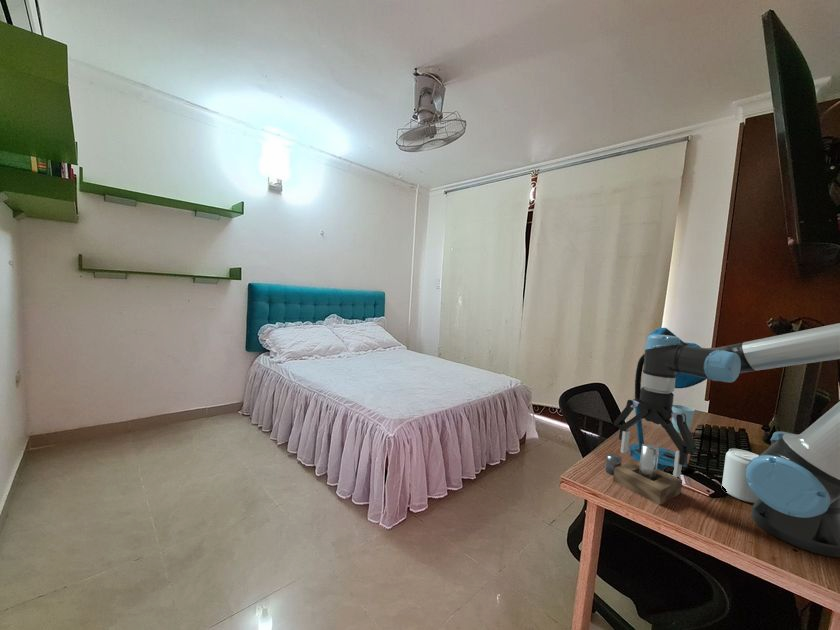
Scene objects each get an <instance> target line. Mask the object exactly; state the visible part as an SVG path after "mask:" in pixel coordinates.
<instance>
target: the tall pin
mask: <svg viewBox="0 0 840 630" xmlns="http://www.w3.org/2000/svg"><path fill="white" fill-rule="evenodd" d="M656 446H657V445H654V444H651V443H644V444H642V449H641V457H640V466H639V474H640V475H642V476H644V477H646V478H648V479H650V480H652V481H655V480H656V472H657V463H658V455H659V448H658V447H659V446H657V447H656Z"/></svg>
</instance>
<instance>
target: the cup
mask: <svg viewBox="0 0 840 630" xmlns="http://www.w3.org/2000/svg"><path fill="white" fill-rule="evenodd" d="M672 411H673V413H677V414H685V415H686V423H687V426H688V428H689V431H690V429H691V426H692V423H693V419H694V414H695V411H696V410H695V409H694V408H691V407H689V406H686V405H682V404H681V405H680V404H673V406H672ZM671 422H672V423H673V427H674V428H675V430H676V431H677V432H678V434H679V435H681V433H680V431H679V428H678V426H677V422H676V421H675V420H674V418H673V417H672V418H671Z"/></svg>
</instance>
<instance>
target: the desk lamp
mask: <svg viewBox="0 0 840 630" xmlns="http://www.w3.org/2000/svg"><path fill="white" fill-rule="evenodd" d="M652 334H658V335H669V336H675V337H678V336H677V335H676V334H675V333H673V332H672V331H671V330H669V329H668V328H667V327H660V328H657V329H655V330H654V331H651V333H650V334H649V335H652ZM649 335H648V336H649ZM648 336H647V337H648ZM680 343H681V345H685V346H691V347H700V348H702V346H700V345H698V343H694V342H684V341H683V340H682V339H681V338H680ZM644 356H645V353H643V354H642V355H641V356H640V357H639V360H638V362H637V365H636V370H635V378H634V399H635V400H636V401H637V402H640V392H641V388H642V385H641V383H642V375H643V368H644ZM706 380H707V379H706V378H702V377H697V376H692V375H688V374H683V373H678V372H676V380H675V388H674V389H686V388H691V387H693V386H696V385H698V384H700V383H701V384H702V382H704V381H706ZM634 411H635V413H634V414H635V416H636V415H637V414H639V413H640V410H639V408H638V406H637V407H636V408H634ZM642 420H643V419H642ZM642 420H640V421H639V422H637V423H635V424H636V433H637V441H638V443H633V444H631V445H630V446H629V448H628V453H629V456H631V458H632V459H634V460H639V461H640V457H641V449H642V444H645V440H644V430H643V424H642V423H643V422H642ZM655 446H656V447H658V448H659V455H658V463H657V469H659V470H661V471H664V469H665V468H668V467H674V462H675V453H676V452H674V451H672V450H669V449H667V448H665V447H664V448H663V447H661V446H657V445H655ZM682 467H687V468H688V463H687V464H686V465H684V466H683V465H682Z"/></svg>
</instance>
